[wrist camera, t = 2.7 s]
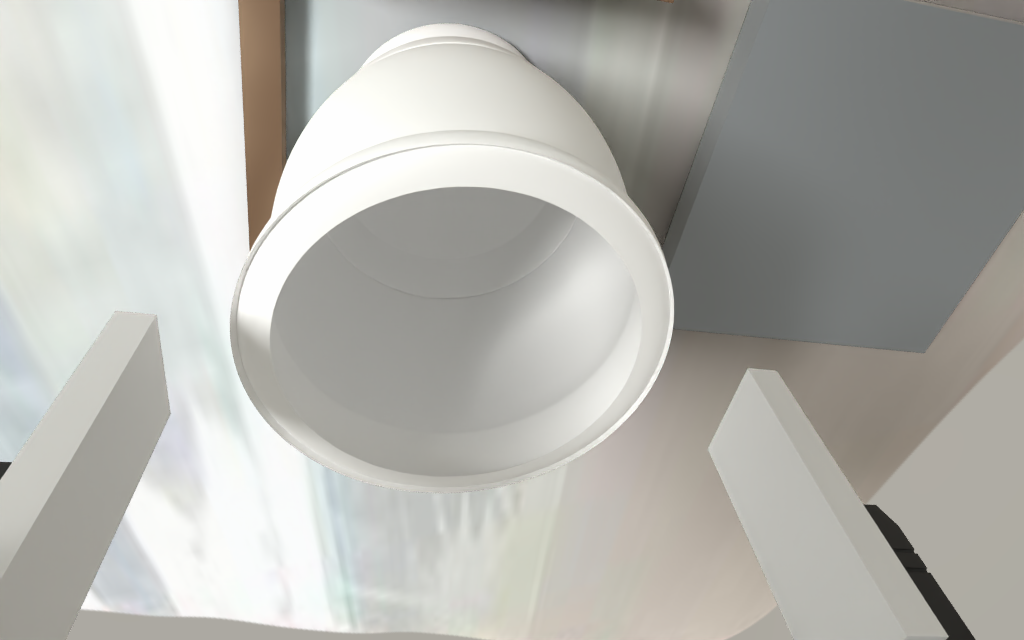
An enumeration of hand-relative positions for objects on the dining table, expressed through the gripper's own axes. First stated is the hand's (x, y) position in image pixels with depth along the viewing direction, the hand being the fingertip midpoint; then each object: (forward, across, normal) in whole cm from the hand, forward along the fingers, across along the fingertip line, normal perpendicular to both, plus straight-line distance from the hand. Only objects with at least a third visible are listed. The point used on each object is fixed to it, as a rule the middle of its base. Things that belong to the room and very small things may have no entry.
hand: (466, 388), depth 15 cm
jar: (+16, 0, 0) cm, 16 cm away
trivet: (+16, +19, 0) cm, 25 cm away
